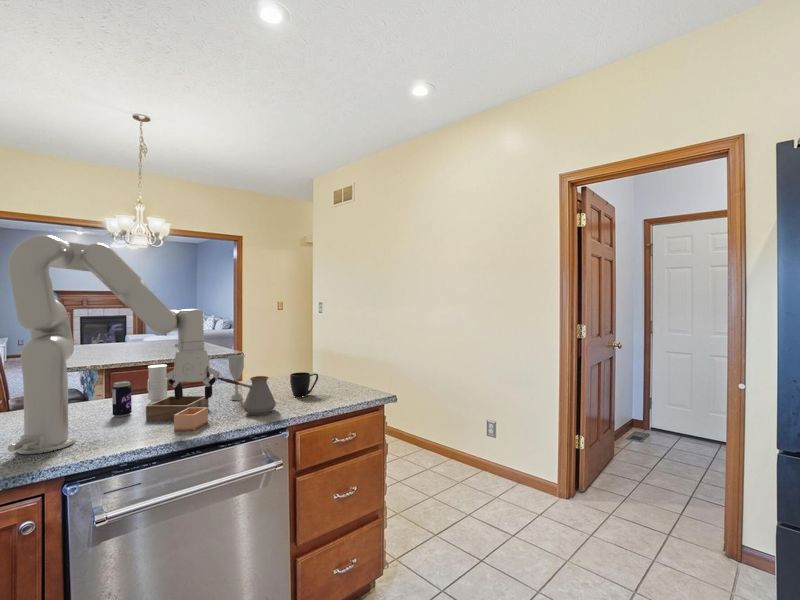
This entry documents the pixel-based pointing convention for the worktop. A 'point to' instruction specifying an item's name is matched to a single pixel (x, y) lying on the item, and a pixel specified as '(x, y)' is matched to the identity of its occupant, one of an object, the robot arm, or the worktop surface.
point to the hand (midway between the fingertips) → (193, 398)
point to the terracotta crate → (190, 419)
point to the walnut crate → (173, 407)
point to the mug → (301, 383)
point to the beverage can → (121, 398)
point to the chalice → (236, 372)
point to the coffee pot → (256, 396)
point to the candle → (157, 383)
